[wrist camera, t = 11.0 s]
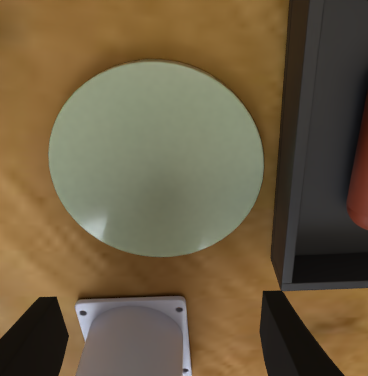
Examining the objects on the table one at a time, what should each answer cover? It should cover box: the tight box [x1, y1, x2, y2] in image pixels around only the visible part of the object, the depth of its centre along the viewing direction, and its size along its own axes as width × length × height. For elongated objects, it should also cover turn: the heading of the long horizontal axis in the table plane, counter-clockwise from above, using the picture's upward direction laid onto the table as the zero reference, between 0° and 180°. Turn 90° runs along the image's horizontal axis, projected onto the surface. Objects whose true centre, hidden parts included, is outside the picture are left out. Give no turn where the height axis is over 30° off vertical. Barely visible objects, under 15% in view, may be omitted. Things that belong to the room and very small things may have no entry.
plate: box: [48, 59, 264, 257], centre depth 20 cm, size 12×12×1 cm
